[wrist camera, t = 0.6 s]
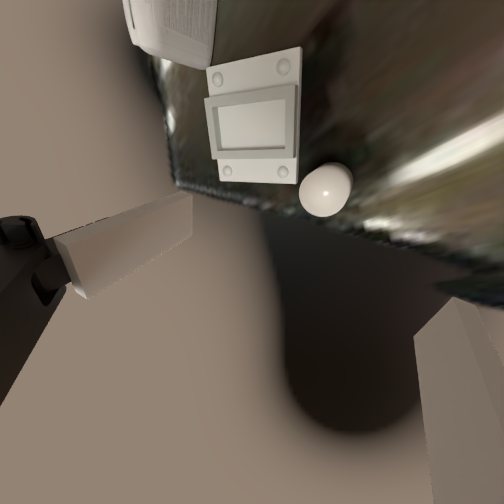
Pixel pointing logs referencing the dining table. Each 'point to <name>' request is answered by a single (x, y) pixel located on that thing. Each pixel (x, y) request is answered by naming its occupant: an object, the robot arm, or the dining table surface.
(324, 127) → the dining table surface
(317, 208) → the white rounded cylinder
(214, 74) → the dock plate
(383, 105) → the dining table surface
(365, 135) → the dining table surface
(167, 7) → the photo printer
